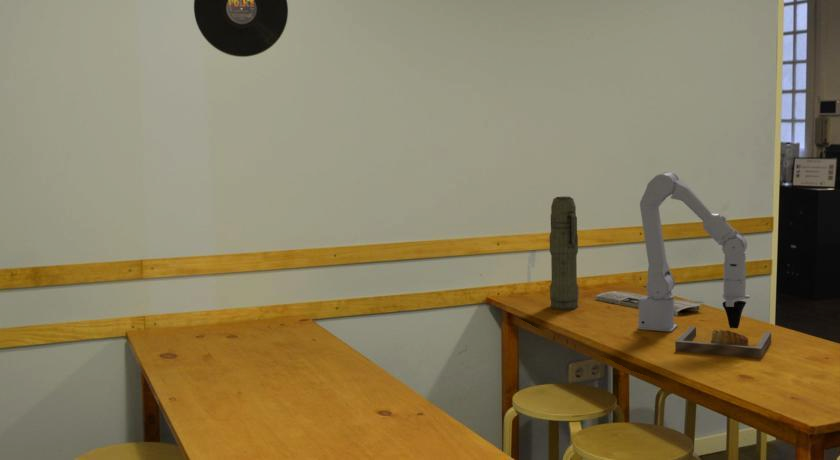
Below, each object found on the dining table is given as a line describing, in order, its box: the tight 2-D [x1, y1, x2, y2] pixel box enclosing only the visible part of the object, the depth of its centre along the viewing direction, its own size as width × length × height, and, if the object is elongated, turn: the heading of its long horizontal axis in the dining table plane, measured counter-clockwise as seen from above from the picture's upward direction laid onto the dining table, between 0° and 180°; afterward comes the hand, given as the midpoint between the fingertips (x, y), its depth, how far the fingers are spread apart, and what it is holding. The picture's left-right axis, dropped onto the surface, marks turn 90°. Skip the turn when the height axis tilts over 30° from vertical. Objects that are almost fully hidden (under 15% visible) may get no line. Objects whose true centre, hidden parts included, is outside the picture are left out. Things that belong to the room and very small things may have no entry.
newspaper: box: [594, 290, 705, 317], centre depth 307 cm, size 35×12×4 cm, turn 36°
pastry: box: [710, 329, 749, 346], centre depth 255 cm, size 9×7×4 cm
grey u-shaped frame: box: [674, 325, 772, 359], centre depth 253 cm, size 21×18×2 cm
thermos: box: [549, 196, 580, 311], centre depth 306 cm, size 9×12×35 cm
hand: (734, 327), depth 266 cm, fingers closed
